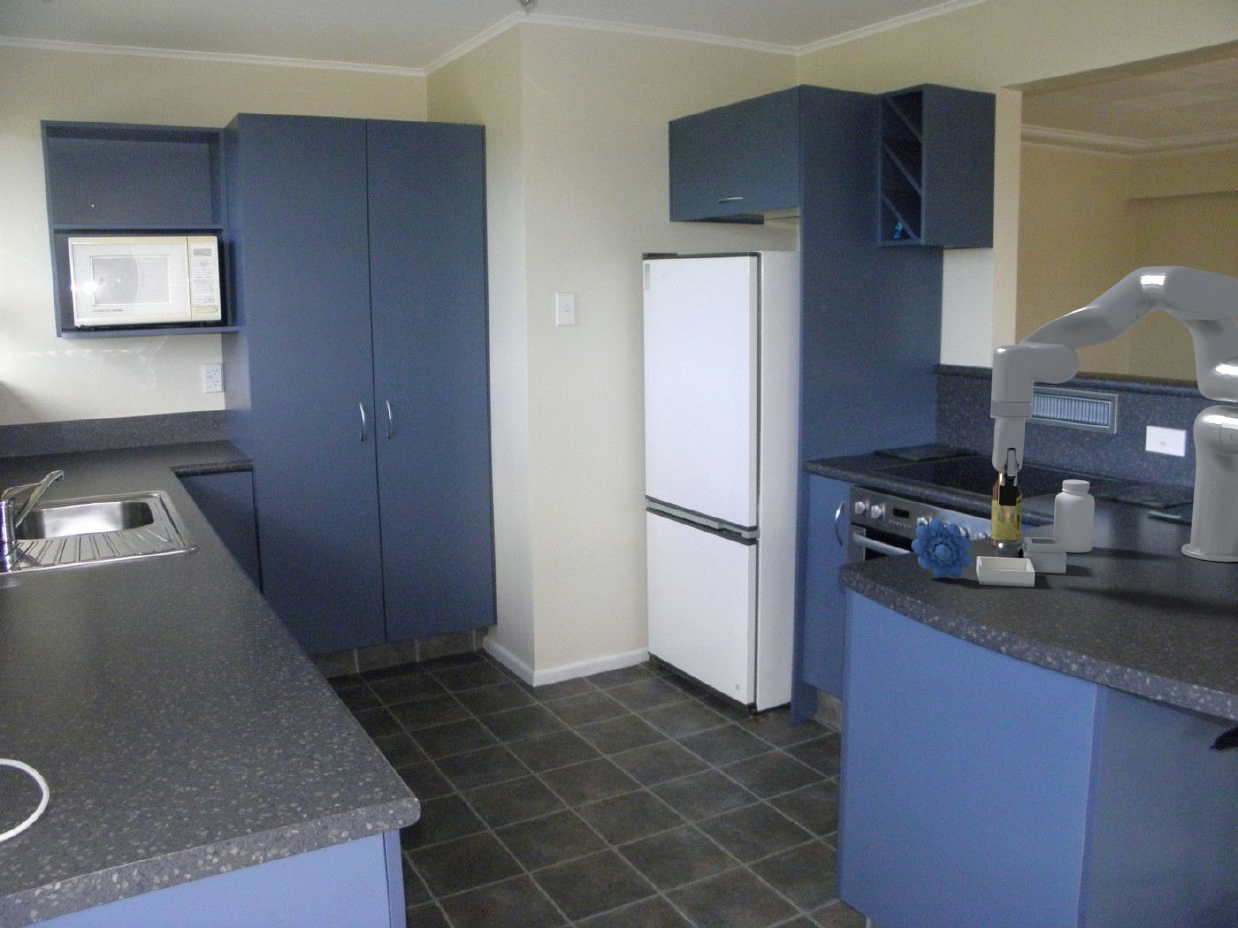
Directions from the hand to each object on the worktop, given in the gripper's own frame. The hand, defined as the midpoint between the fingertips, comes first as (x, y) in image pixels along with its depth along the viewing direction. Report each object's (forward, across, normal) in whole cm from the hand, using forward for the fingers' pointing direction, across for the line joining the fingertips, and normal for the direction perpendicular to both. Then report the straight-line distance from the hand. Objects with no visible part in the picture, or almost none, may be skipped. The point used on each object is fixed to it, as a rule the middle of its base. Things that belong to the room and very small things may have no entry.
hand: (1006, 502), depth 206 cm
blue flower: (+16, +3, -12) cm, 20 cm away
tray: (+15, 0, 0) cm, 15 cm away
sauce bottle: (+15, -27, +2) cm, 31 cm away
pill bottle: (+15, -27, +16) cm, 35 cm away
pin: (+4, 0, 0) cm, 4 cm away
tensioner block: (+15, -10, +6) cm, 19 cm away
